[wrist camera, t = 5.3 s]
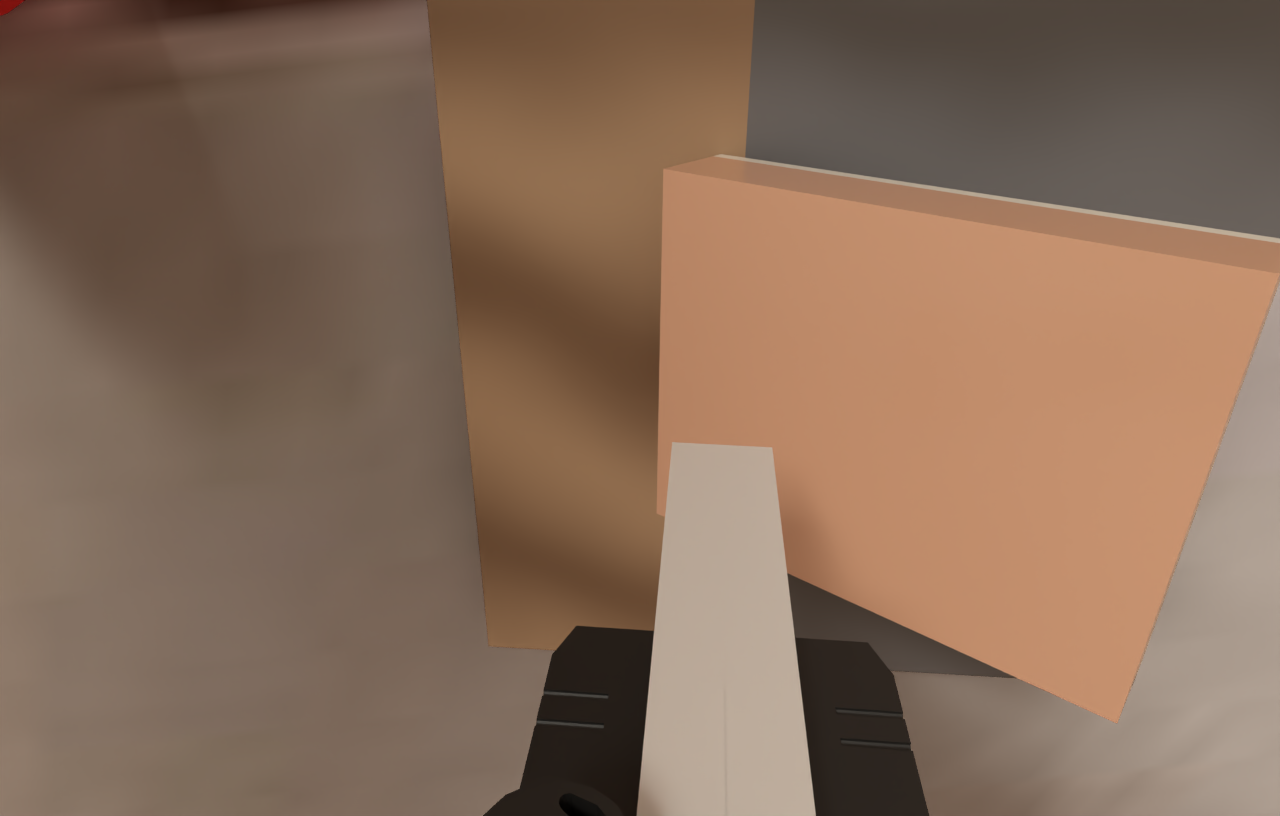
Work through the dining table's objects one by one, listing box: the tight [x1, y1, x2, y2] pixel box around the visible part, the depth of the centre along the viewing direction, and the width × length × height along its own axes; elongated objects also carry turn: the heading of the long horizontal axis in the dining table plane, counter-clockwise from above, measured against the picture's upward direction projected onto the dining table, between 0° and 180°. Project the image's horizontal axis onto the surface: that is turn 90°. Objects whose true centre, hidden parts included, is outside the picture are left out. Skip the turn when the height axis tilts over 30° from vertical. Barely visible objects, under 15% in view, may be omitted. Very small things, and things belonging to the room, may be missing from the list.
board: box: [427, 0, 1280, 683], centre depth 20 cm, size 20×18×1 cm
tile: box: [657, 154, 1280, 723], centre depth 16 cm, size 8×2×10 cm
